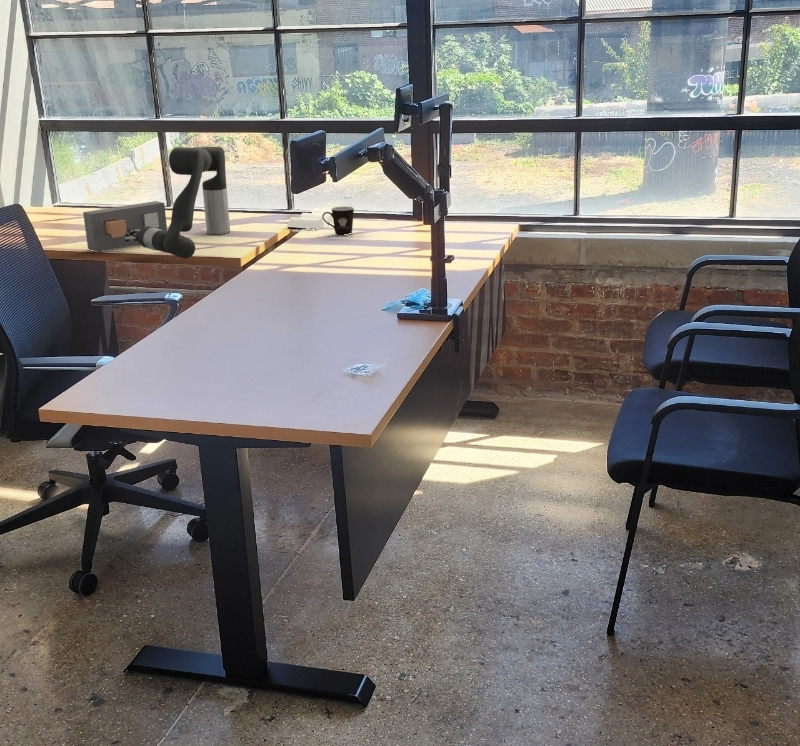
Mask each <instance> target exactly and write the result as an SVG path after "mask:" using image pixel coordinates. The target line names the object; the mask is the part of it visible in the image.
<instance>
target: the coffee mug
mask: <svg viewBox="0 0 800 746" xmlns="http://www.w3.org/2000/svg"><path fill="white" fill-rule="evenodd" d="M354 211H355V208H354V207H352V206H351V207H334V208H332V213H330V212H325V213H324V214H323V216H322V218H323V220H324V221H325V222H326V223H327V224H329V225H328V226H330V227H333V229H334V233H335V235H336V234H337V235H336V236H338V235H344V234H349V233H352V234H353V223H354ZM326 213H328V214H330V215H331V216H332V218H333V221H334V223H332V224H330V223H328V222H327V221H326V220H325V219H324V215H325V214H326Z"/></svg>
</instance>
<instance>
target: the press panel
mask: <svg viewBox="0 0 800 746" xmlns="http://www.w3.org/2000/svg"><path fill="white" fill-rule="evenodd" d="M165 206H166V205H165V202H162V201H156V200H154V201H149V202H141V203H136V204H135V203H134V204H127V205H121V206H114V207H109V208H102V209H95V210H90V211H89V210H88V211H83V212H82V214H83V215H82V216H83V222H84V229H85V236H86V243H87V244H86V245H87V250H88V249H90V250H94V251H101V252H103V251H102V250H106V251H109V250H108V249H112V250H115V249H114V248H117V249H121V247H123V248H128V247H133V246H139V245H140V244H139V242H138V241H134V240H133V239H131V240H130V241H128V242H126V241H125V236H121V237H116V238H112V236H111V234H108V233H105V227H104V221H108V220H115V221H119V220H126V229H130V228H131V229H134V230H135V229H141V228H143V227H144V223H143V214H146V213H152V212H157V214H158V223H159V227H156V228H158V229H161V230H163V231H166V232H167V231H168V226H167V217H166V207H165ZM127 246H128V247H127ZM90 250H89V251H90Z"/></svg>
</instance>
